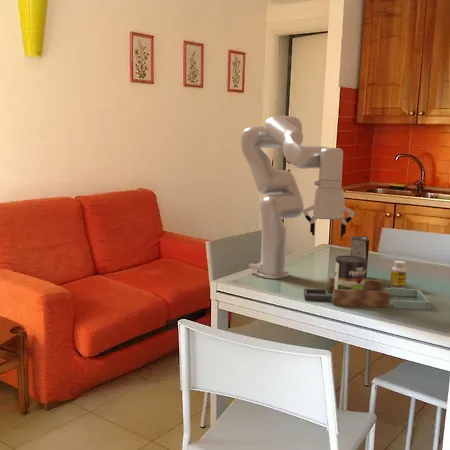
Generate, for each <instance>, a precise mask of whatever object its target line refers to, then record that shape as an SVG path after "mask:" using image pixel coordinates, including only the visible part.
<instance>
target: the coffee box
mask: <svg viewBox="0 0 450 450" xmlns="http://www.w3.org/2000/svg"><path fill="white" fill-rule="evenodd" d="M350 242H351V243H350V255H349V256H357V257H362V258H365V259H366V260H367V263H366V275H365V280H367V279H368V275H367V274H368V263H369V251H370V250H369V248H370V239H369V237H368V236H361V235H360V236H359V235H357V236H356V235H355V236H353V235H352V236H351V241H350Z"/></svg>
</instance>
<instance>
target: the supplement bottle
mask: <svg viewBox="0 0 450 450" xmlns="http://www.w3.org/2000/svg"><path fill="white" fill-rule="evenodd" d="M406 264H407V263H406V261H404V260H394V261H393V266H392V267H391V270H390V282H389V286H390V287H389V288H403V289H406V284H407V283H406V282H407V273H408V272H407V271H408V269H407V268H406Z"/></svg>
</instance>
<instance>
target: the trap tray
mask: <svg viewBox="0 0 450 450" xmlns="http://www.w3.org/2000/svg"><path fill="white" fill-rule="evenodd" d="M329 294H330V293H329V290H328V289H324V288H307V287H306V288H305V287H304V288H303V297H304V301H308V300H313V301H314V302H330V295H329Z"/></svg>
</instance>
